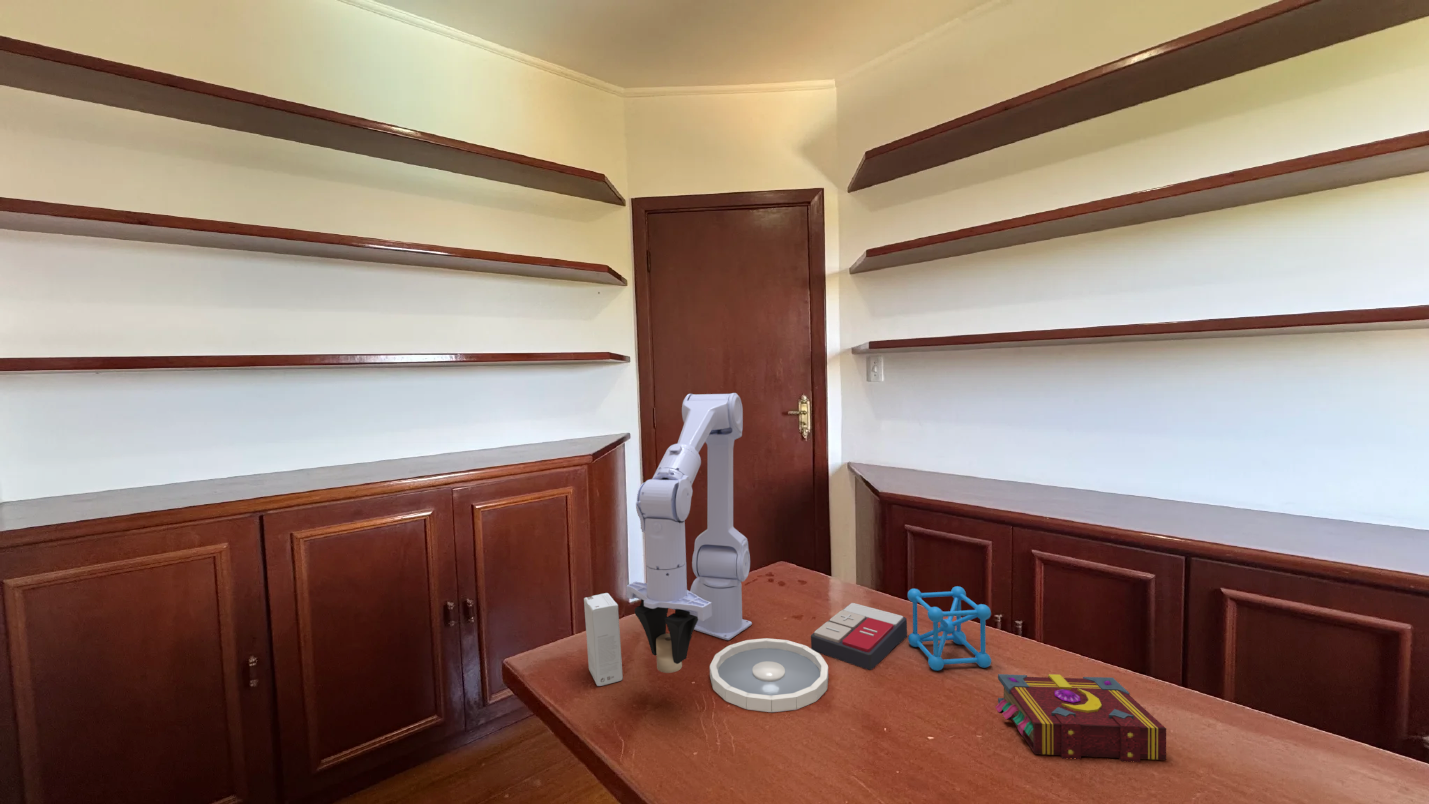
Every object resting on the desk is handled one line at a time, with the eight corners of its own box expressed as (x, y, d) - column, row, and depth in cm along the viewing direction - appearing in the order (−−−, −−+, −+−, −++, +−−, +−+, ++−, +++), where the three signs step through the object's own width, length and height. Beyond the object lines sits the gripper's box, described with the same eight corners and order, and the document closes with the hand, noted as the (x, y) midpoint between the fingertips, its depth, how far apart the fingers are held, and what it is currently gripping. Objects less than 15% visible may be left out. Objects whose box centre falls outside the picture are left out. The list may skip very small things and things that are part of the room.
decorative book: (1169, 765, 66) (1169, 724, 66) (1024, 759, 68) (1024, 718, 67) (1112, 708, 77) (1112, 673, 77) (989, 704, 79) (989, 669, 79)
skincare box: (623, 680, 87) (621, 604, 87) (595, 688, 85) (592, 610, 85) (613, 663, 93) (610, 591, 92) (586, 669, 91) (583, 596, 90)
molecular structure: (994, 670, 87) (994, 607, 87) (932, 674, 87) (931, 610, 86) (962, 640, 97) (961, 583, 97) (906, 643, 97) (905, 586, 96)
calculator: (809, 631, 95) (850, 598, 106) (810, 655, 95) (851, 620, 107) (869, 650, 88) (907, 613, 99) (871, 676, 88) (908, 636, 99)
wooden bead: (651, 668, 80) (650, 640, 80) (668, 657, 83) (667, 630, 83) (670, 675, 78) (669, 647, 78) (687, 664, 81) (686, 637, 81)
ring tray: (687, 685, 85) (686, 674, 85) (751, 639, 100) (751, 629, 99) (791, 727, 74) (791, 714, 74) (846, 668, 89) (846, 657, 89)
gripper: (610, 562, 81) (613, 653, 81) (687, 581, 72) (690, 684, 73) (644, 549, 86) (647, 635, 87) (719, 566, 78) (722, 661, 78)
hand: (669, 656), depth 80 cm, fingers closed on wooden bead, 4 cm apart
